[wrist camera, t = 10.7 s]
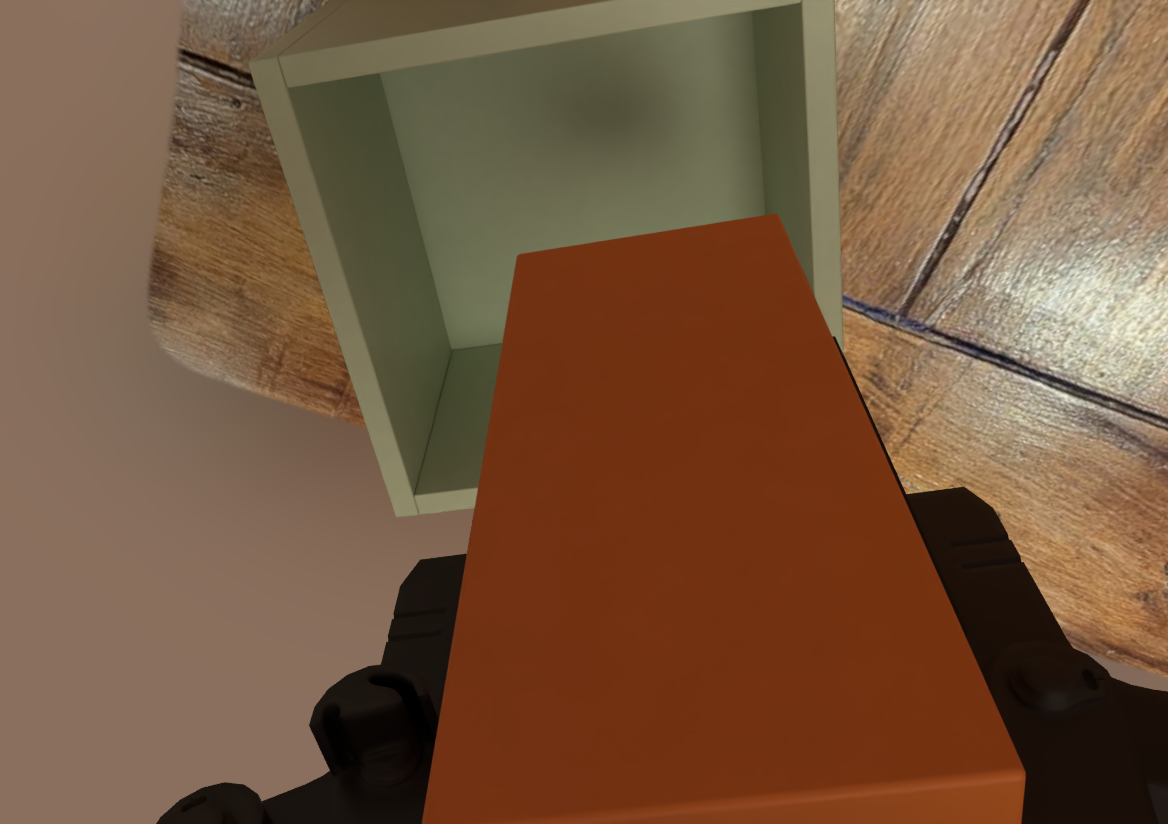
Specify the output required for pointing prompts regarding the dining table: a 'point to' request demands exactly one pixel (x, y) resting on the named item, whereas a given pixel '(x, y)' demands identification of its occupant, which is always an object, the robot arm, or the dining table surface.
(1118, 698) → the robot arm
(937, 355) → the dining table surface
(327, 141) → the open square bin
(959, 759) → the orange rectangular prism
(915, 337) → the dining table surface
